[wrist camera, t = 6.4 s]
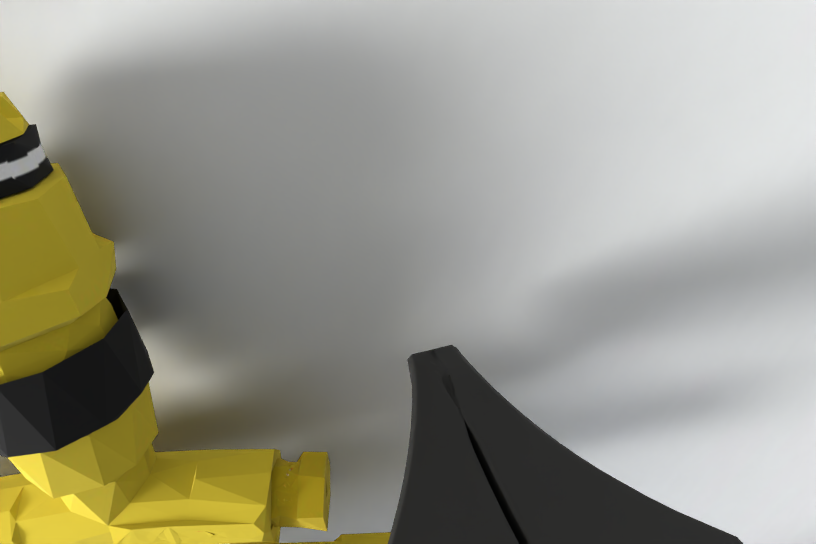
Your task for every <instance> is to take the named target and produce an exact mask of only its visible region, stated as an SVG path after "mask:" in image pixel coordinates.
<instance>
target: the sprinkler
mask: <svg viewBox="0 0 816 544" xmlns="http://www.w3.org/2000/svg"><path fill="white" fill-rule="evenodd" d="M115 271H116V262H115V249H114V242H113V241H111V240H108V239H106V238H103V237H101V236H99V235H96V234H94V233H92V231H91V229H90V227H89V225H88V223H87V220H86V218H85V216H84V214H83V212H82V210H81V207H80V205H79V203H78V201H77V199H76V197H75V194H74V192H73V190H72V188H71V186H70V184H69V181H68V179H67V177H66V175H65V174H64V172H63V170H62V169H61V167H60V165H59V164H58V163H50V162H49V160H48V158H47V156H46V154H45V152H44V149H43V147H42V145H41V142H40V139H39V135H38V131H37V127H36V124H35V125H29V124H28V122H27V121H26V120H25V119H24V117H23V116H22V115H21V114H20V112H19V111H18V110H17V108H16V107H15V106H14V105H13V103H12V102H11V101H10V100H9V98H8V97H7V96H6V95H5V93H4V92H0V455H1V456H5V457H8V459H9V460H10V461H11V462H12V463H13V464H14V465H15V467H16V468H17V469H18V470H19V471H20V472H21V473H20V474H14V475H9V476H3V477H0V544H228V543H230V544H388V541H389V537H390V534H391V532H386V533H363V534H341V535H340V536H339V537H338V538H337V539H336V540H335V541H334V542H299V543H279V536H280V528H281V527H302V528H309V529H316V530H323V531H327V528H328V516H329V505H330V462H329V458H328V453H327V452H303V453H302V455H301V456H300V458H299V459H298V461H297V462H288V461H286V460H283V459H281V452H280V450H277V449H217V450H188V451H168V452H154V449H153V445H152V442H153V440H154V439H155V437H156V436H157V434H158V433H159V432H158V427H157V422H156V417H155V412H154V407H153V402H152V397H151V392H150V387H149V380H150V379H151V377H152V375H153V374H154V371H153V368H152V364H151V361H150V358H149V355H148V351H147V349H146V347H145V345H144V343H143V341H142V339H141V337H140V335H139V332H138V330H137V328H136V326H135V324H134V322H133V320H132V318H131V316H130V314H129V312H128V309H127V307H126V306H125V304H124V302H123V300H122V298H121V296H120V294H119V292H118V291H117V289H111V288H110V286H111V283H112V280H113V277H114V274H115Z"/></svg>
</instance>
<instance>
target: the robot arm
mask: <svg viewBox="0 0 816 544" xmlns="http://www.w3.org/2000/svg"><path fill="white" fill-rule="evenodd" d="M408 366H409V371H410V377H411V382H412V419H411V433H410V441H409V448H408V456H407V463H406V469H405V475H404V480H403V485H402V490H401V494H400V499H399V503H398V507H397V511H396V515H395V519H394V523H393V527H392V530H391V534H390V537H389V541H388V544H743V543H742V542H741V541H740V540H739V539H738V537H736V536H733V535H731V534H729V533H726V532H724V531H722V530H719V529H717V528H715V527H712V526H710V525H708V524H705V523H703V522H701V521H698V520H696V519H693V518H691V517H689V516H686V515H684V514H682V513H680V512H677V511H675V510H673V509H671V508H669V507H667V506H665V505H663V504H661V503H659V502H657V501H655V500H653V499H651V498H649V497H647V496H645V495H643V494H642V493H640V492H638V491H636V490H635V489H633V488H631V487H629V486H628V485H626V484H624V483H622V482H621V481H619V480H617V479H615V478H613V477H612V476H610V475H608V474H606V473H605V472H603V471H601V470H600V469H598V468H596V467H595V466H593V465H592V464H590V463H589V462H587V461H586V460H584V459H582V458H581V457H579V456H578V455H576V454H575V453H573V452H572V451H570V450H569V449H568V448H566V447H565V446H563V445H562V444H560V443H559V442H558V441H556V440H555V439H554V438H552V437H551V436H549V435H548V434H547V433H546V432H544V431H543V430H542V429H540V428H539V427H538V426H537V425H535V424H534V423H533V422H532V421H530V420H529V419H528V418H527V417H526V416H524V415H523V414H522V413H521V412H520V411H518V410H517V409H516V408H515V407H514V406H513V405H512V404H511V403H509V402H508V401H507V400H506V399H505V398H504V397H503V396H502V395H501V394H500V393H499V392H497V391H496V390H495V389H494V388H493V387H492V386H491V385H490V384H489V383H488V382H487V381H486V380H485V379H484V378H483V377H482V376H481V375H480V374H479V373H478V372H477V371H476V370H475V369H474V367H473V366H472V365H471V364H470V363H469V362H468V361H467V360H466V359H465V357H464V356H463V355H462V354H461V353H460V352H459V350H458V349H457V348H456V347H454V346H453V345H449V346H445V347H441V348H437V349H433V350H429V351H424V352H420V353H416V354H412V355H411V356H410V357H409V358H408Z"/></svg>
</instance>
